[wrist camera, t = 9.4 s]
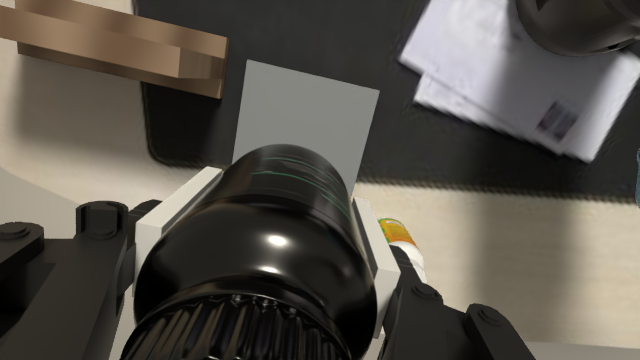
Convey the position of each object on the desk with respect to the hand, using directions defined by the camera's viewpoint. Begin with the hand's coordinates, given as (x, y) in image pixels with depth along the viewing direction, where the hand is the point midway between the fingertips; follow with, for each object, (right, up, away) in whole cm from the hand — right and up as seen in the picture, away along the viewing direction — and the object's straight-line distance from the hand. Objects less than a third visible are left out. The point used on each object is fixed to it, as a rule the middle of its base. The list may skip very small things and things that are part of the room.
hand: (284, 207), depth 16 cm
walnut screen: (-18, +15, +16) cm, 28 cm away
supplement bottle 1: (0, 0, +1) cm, 1 cm away
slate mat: (0, +6, +19) cm, 20 cm away
